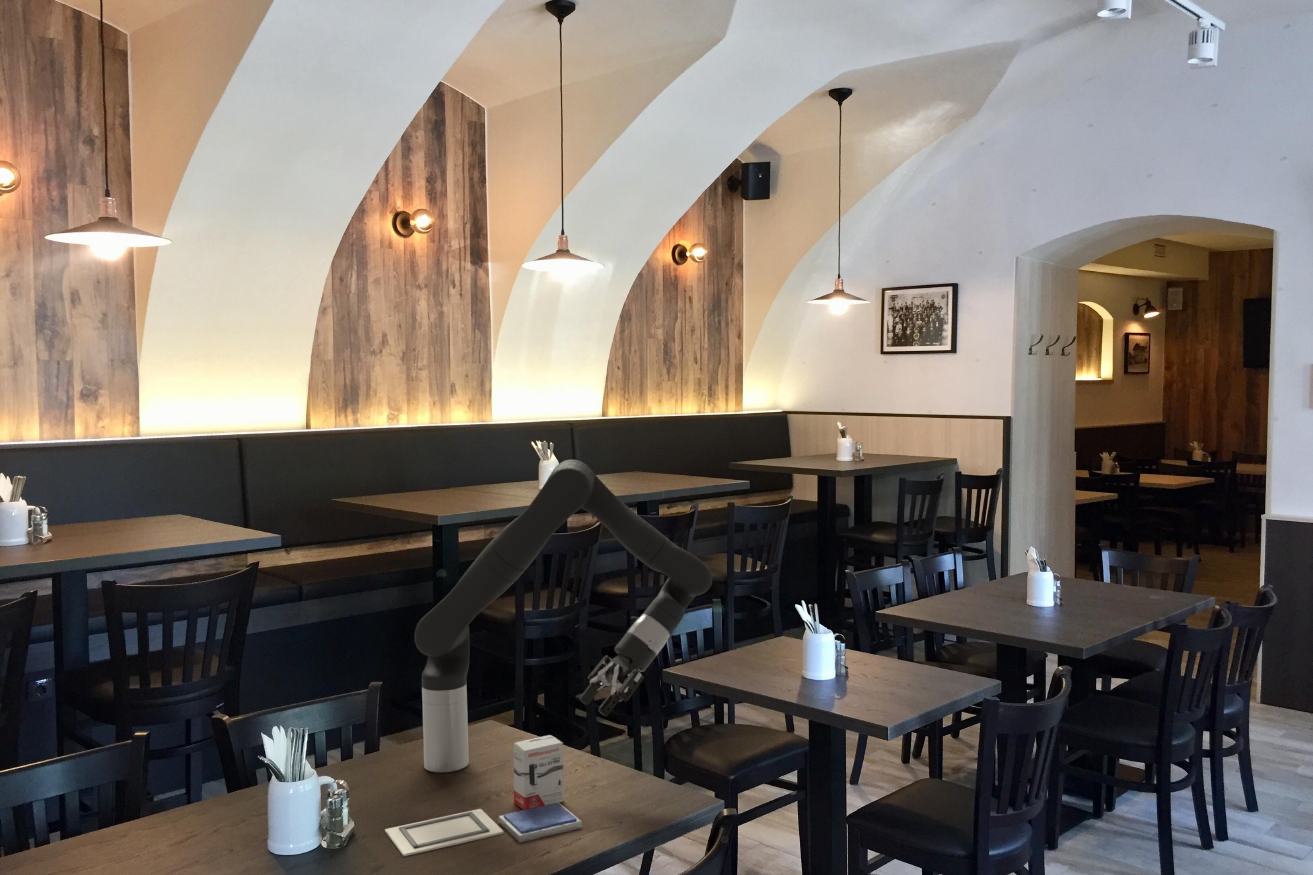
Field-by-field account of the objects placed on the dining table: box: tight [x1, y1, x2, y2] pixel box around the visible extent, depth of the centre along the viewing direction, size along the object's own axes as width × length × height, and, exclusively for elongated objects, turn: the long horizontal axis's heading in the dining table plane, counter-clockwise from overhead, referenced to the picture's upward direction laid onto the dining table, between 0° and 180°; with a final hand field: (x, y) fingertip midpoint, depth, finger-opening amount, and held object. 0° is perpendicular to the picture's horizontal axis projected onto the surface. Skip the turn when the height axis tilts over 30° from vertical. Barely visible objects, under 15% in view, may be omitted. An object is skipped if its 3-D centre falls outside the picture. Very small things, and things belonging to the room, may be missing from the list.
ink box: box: [513, 734, 565, 810], centre depth 203 cm, size 8×5×12 cm, turn 123°
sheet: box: [384, 808, 505, 857], centre depth 190 cm, size 12×18×1 cm, turn 119°
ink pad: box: [498, 802, 583, 843], centre depth 193 cm, size 10×12×2 cm
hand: (592, 708), depth 208 cm, fingers open, 8 cm apart
